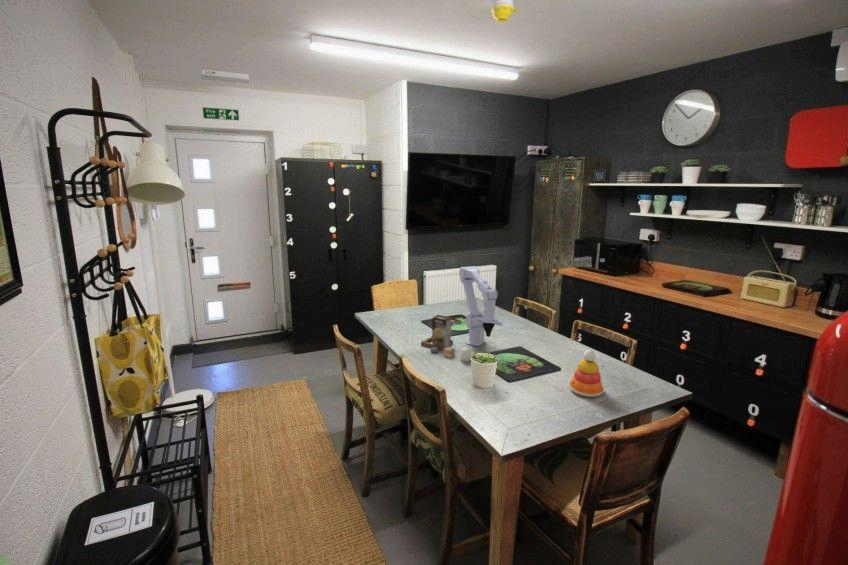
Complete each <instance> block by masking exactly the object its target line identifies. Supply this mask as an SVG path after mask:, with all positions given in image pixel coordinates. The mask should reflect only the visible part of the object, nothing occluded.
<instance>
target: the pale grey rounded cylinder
mask: <svg viewBox="0 0 848 565" xmlns="http://www.w3.org/2000/svg"><path fill="white" fill-rule="evenodd" d="M471 351H472V349H471V348H470V347H469V346H465V347H463V346H462V347H461V349H460V361H461V362H463V363H468V362H471V360H470V359H472V358H471V356H472V352H471Z"/></svg>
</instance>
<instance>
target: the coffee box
mask: <svg viewBox="0 0 848 565" xmlns="http://www.w3.org/2000/svg"><path fill="white" fill-rule="evenodd" d="M431 325H432V326H431V327H432V328H431V332H432V334H431V336H432V341H431V344H435V345H439V346H442V348H443V349H444V348H446V347H448V346H449V347H450V345H452V344H451V340H452V317H451V316H445V315H441V314H437V315H434V316H433V317H432V324H431Z"/></svg>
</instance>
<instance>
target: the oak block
mask: <svg viewBox="0 0 848 565" xmlns="http://www.w3.org/2000/svg"><path fill="white" fill-rule="evenodd" d="M443 356H444V357H447V358H452V357H454V356H455V347H452V346H450V345H449V346H447V347H446V348H444V347H443Z"/></svg>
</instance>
